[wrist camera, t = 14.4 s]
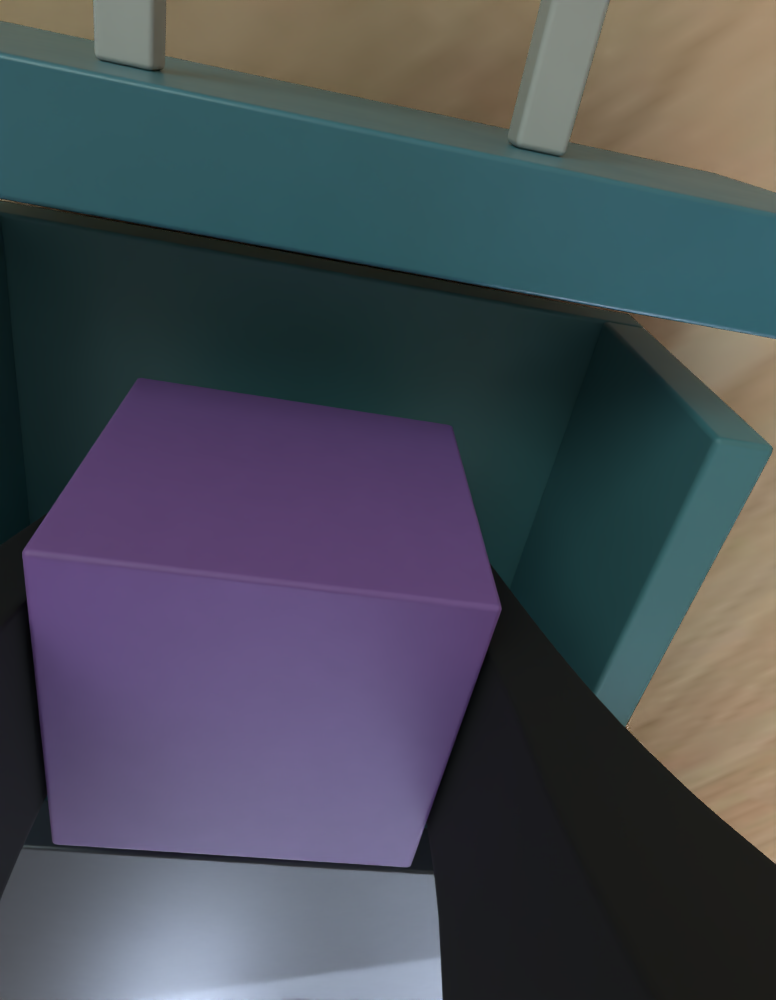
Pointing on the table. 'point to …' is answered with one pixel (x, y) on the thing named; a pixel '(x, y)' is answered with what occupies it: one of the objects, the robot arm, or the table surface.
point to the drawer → (390, 301)
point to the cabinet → (214, 926)
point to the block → (256, 628)
